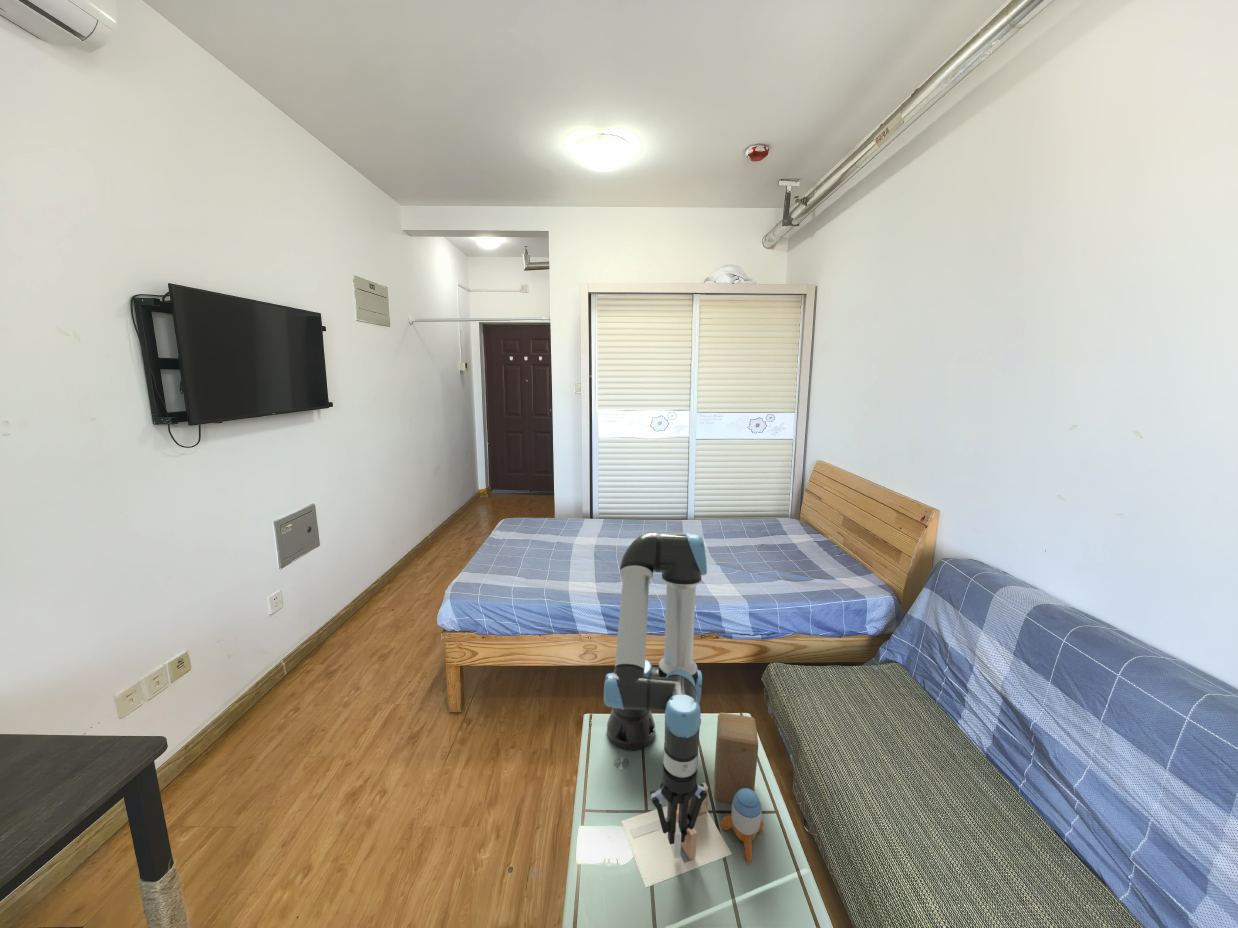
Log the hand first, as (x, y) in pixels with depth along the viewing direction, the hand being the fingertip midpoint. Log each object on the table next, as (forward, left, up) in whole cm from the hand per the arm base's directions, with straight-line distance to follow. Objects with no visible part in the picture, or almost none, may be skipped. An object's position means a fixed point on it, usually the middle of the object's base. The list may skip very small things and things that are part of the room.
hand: (675, 851), depth 107 cm
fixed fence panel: (-9, +7, -2) cm, 12 cm away
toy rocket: (+1, +19, -3) cm, 19 cm away
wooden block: (-12, +23, -3) cm, 26 cm away
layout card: (-5, +2, -3) cm, 6 cm away
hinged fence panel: (-3, +3, -2) cm, 5 cm away
